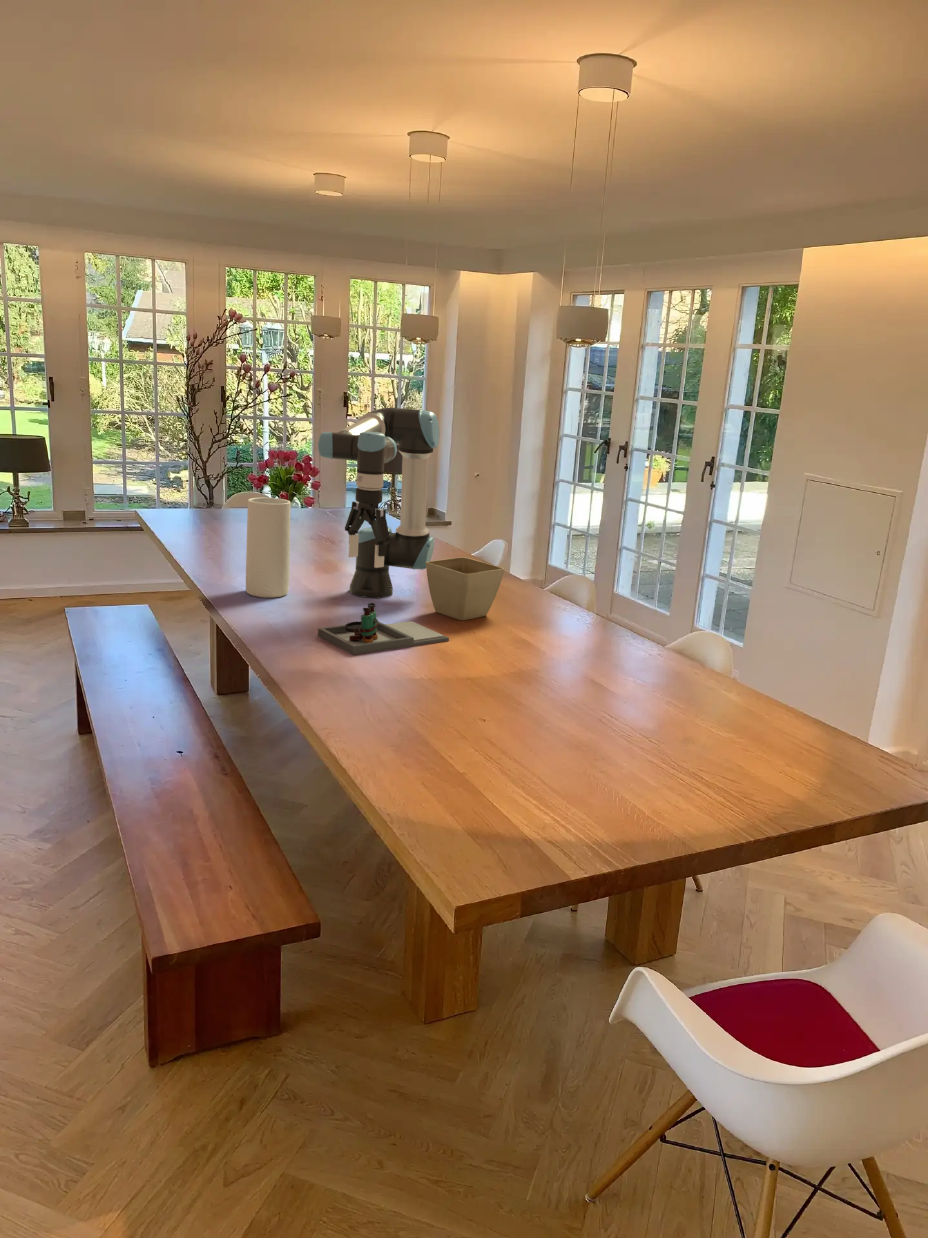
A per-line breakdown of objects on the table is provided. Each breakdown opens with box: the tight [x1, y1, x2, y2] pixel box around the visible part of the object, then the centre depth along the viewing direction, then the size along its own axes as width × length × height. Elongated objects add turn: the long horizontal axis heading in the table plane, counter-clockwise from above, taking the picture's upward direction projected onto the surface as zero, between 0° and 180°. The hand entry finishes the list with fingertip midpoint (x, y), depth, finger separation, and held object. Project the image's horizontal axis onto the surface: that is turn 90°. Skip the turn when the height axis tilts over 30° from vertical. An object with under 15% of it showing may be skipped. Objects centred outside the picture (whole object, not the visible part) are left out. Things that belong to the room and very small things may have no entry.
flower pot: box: [426, 556, 505, 621], centre depth 299 cm, size 19×19×17 cm
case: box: [317, 620, 450, 656], centre depth 267 cm, size 33×19×2 cm, turn 129°
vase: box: [245, 497, 292, 599], centre depth 303 cm, size 14×14×32 cm
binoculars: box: [344, 602, 379, 643], centre depth 262 cm, size 9×11×10 cm
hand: (365, 561), depth 261 cm, fingers open, 13 cm apart
